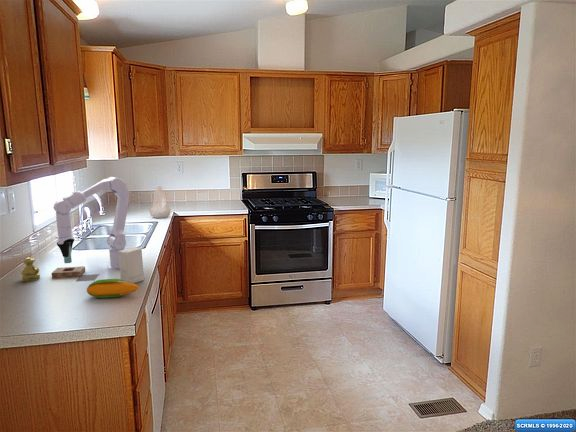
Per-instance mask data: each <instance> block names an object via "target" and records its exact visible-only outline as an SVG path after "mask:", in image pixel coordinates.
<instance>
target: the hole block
mask: <svg viewBox="0 0 576 432" xmlns="http://www.w3.org/2000/svg"><path fill="white" fill-rule="evenodd" d="M85 273H86V266H67V267H66V266H65V267H57V268H56V269H54V270H53V271H52V272H51V279H71V278H73V279H74V278H79V277H81V276H82V275H85Z"/></svg>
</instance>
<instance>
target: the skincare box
mask: <svg viewBox="0 0 576 432" xmlns="http://www.w3.org/2000/svg"><path fill="white" fill-rule="evenodd" d="M142 250H143V249H142V248H140V247H136V246H132V247H128V248H126V249H124V250H121V251H118V254H119V265H120V268H119V274H120V279H122V280H124V281H120V282H127V283H133V284H136V283H139V282H142V281H144V280H145V278H144V277H145V274H144V265H143V264H144V263H143V262H144V261H143V251H142Z"/></svg>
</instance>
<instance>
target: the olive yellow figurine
mask: <svg viewBox="0 0 576 432" xmlns="http://www.w3.org/2000/svg"><path fill="white" fill-rule="evenodd" d="M35 262H36V259H35V258H34V257H32V258H31V257H27V258H24V259H23V260H22V262H21V263H23V264H24V266H25V267H23V268H22V269H21V270H20V274H21V276H20V279H21V281H22V282H25V283H29V282H34V281H38V280H40V278H41V273H40V268H39V267H37V266H35V265H34V263H35Z"/></svg>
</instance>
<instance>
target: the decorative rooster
mask: <svg viewBox="0 0 576 432" xmlns="http://www.w3.org/2000/svg"><path fill="white" fill-rule="evenodd" d="M170 214H171V207H170V205H168V203H167V196H166V192H165V190H163V188H162V186H161V185H158V186H157V187H156V189H155V190H154V191H153V200H152V204H151V207H150V208H149V215H150V216H151V217H153V218H154V219H155V218H156V219H166V218H168V217H169V216H170ZM165 217H166V218H165Z"/></svg>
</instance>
